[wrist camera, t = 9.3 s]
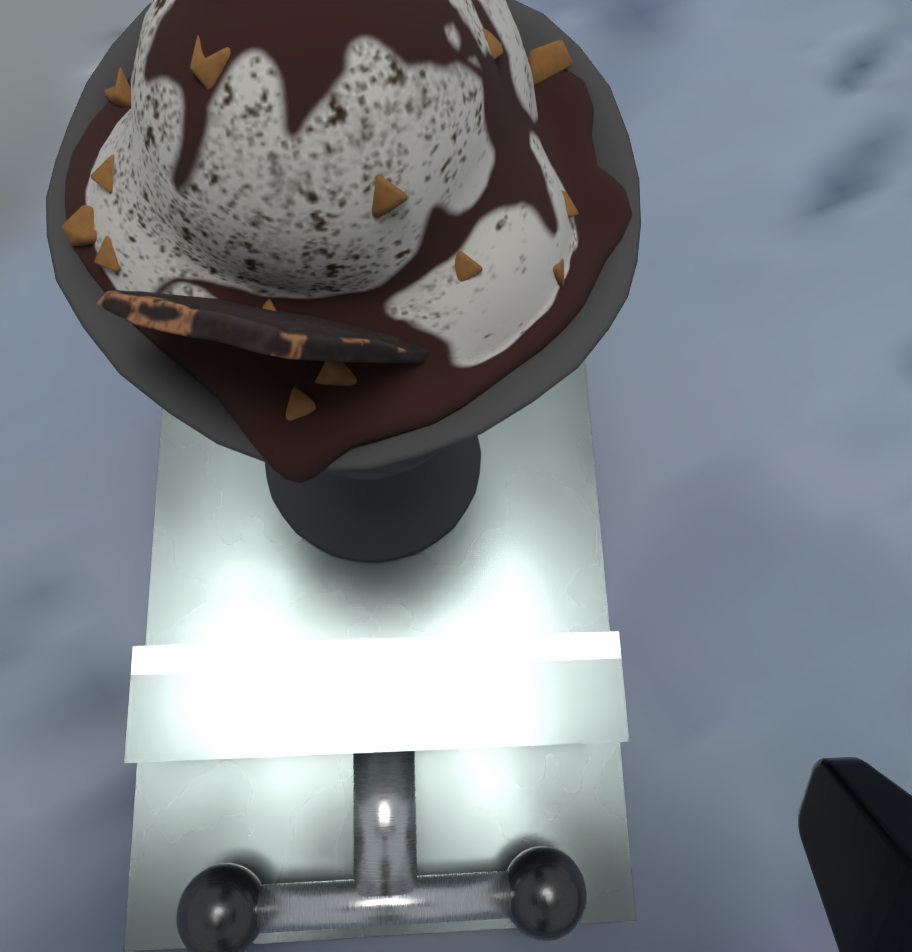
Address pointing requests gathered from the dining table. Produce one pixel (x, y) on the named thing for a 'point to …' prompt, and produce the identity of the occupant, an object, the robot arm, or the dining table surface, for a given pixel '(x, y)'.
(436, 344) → the sundae
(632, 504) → the dining table surface
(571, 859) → the vise
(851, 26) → the dining table surface
